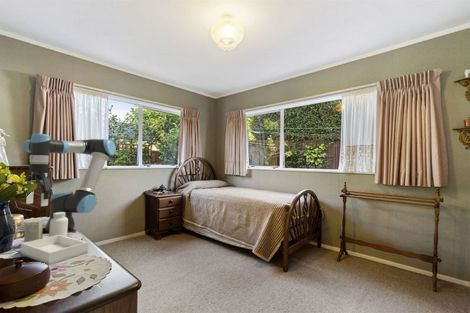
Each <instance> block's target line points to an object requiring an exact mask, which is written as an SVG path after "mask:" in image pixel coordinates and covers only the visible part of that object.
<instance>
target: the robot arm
mask: <svg viewBox="0 0 470 313" xmlns="http://www.w3.org/2000/svg"><path fill="white" fill-rule="evenodd" d="M22 149H23V150H24V151H25V152H26V153H30V154H29V156H28V158H29V170H28V171H29V172H28V175H27V176H28V177H27V179H26V181H31V180H36V184H37V183H38V184H39V187H40V189H41V193H40V194H41V196H40V197H41V198H40V207H46V206H47V207H48V205H49V204H50V206H49V218H48V221H47V222H46V225H45V231H47V232H49V230H50V220H51V219H52V218H54V216H53V214H54V213H57V212H65V217H66V218H68V229H67V231H68V230H72V229H74V228H75V227H76V222H75V220H74V217H73V213H74V214H88V213H90V212H92V211H93V210H94V209H95V208H96V206H97V205H98V204H97V203H98V201H97V200H98V198H97V196H96V193H95V190H96V188H97V185H98V183H99V180H100V177H101V175H102V171H103V168H104V167H105V163H106V161H108V160H109V159H110V157H112V156H114V155H115V153H116V150H117V149H116V144H115V142H114V141H113V140H111V139H106V138H105V139H101V138H97V139H95V138H89V139H77V140H60V139H51V136H50V135H49V134H46V133H33V134H32V135H31V137H30V139H26V140H25V141H24V142H23V143H22ZM67 153H76V154H79V155H80V154H82V155H91V156H92V157H91V160H90V162H89V164H88V167H87V169H86V171H85V174H84V177H83V179H82V181H81V184H80V187H79V188H77V189H75V191H66V192H57V193H52V191H53V190H52V185H51V180H50V174H49V172H48V171H49V161H50V154H59V155H60V154H63V155H64V154H67ZM34 193H35V190H34V191H33V192H31V193H30V194H29V195H28V196H27V195H26V196H27V197H26V198H25V200H26V202H25V204H27V205H28V204H33V203H34ZM49 193H52V194H51V196H50V200H49ZM49 202H50V203H49Z"/></svg>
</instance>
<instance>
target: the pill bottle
mask: <svg viewBox="0 0 470 313" xmlns="http://www.w3.org/2000/svg"><path fill="white" fill-rule="evenodd" d="M53 216H54V218H52V219H51V220H50V230H49V231H48V232H49V233H48V237H51V236H56V235H63V236H67V237H68V230H69V229H68V218H66V217H65V212H57V213H54V214H53ZM67 229H68V230H67Z"/></svg>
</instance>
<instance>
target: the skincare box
mask: <svg viewBox="0 0 470 313" xmlns="http://www.w3.org/2000/svg"><path fill="white" fill-rule="evenodd" d="M43 221H44V219H39V220H37V219H36V220H28V221H25V222H24V238H23V240H24V241H23V243H25V242H29V241H34V240H38V239H43V231H44V230H43V229H44V228H43V227H44V225H43V223H44V222H43Z"/></svg>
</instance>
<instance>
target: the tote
mask: <svg viewBox="0 0 470 313" xmlns="http://www.w3.org/2000/svg"><path fill="white" fill-rule="evenodd" d="M88 251H89V242H88V241H84V240H80V239H77V238H73V237H69V236H68V235H67V236H63V235H56V236H51V237H49V236H47V237H44V238H43V237H42V239H38V240H34V241H29V242H25V243H24V242H21V243H20V253H19V254H20V255H21V256H24V257H27V258H28V259H31V260H34V261H36V262H40V263H42V262H43V263H42V264H44V263H46V264H45V265H47V266H51V265H53V264H54V265H55V264H57V263H60V262H63V261H66V260H70V259H73V258H75V257H78V256H81V255H85V254H88V253H89V252H88Z"/></svg>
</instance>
